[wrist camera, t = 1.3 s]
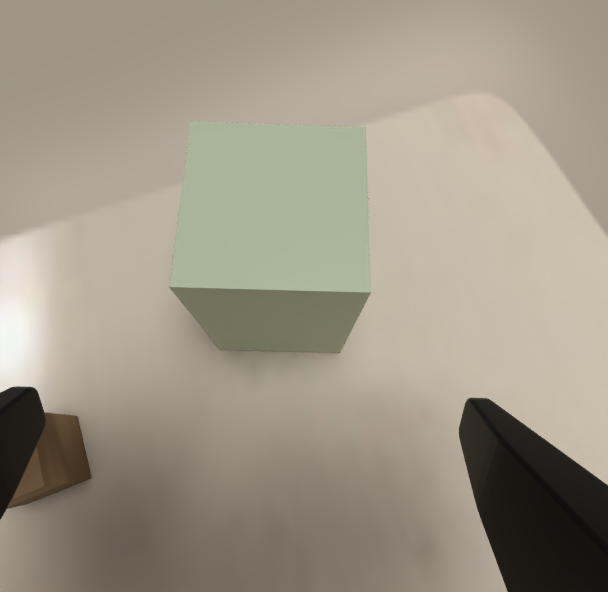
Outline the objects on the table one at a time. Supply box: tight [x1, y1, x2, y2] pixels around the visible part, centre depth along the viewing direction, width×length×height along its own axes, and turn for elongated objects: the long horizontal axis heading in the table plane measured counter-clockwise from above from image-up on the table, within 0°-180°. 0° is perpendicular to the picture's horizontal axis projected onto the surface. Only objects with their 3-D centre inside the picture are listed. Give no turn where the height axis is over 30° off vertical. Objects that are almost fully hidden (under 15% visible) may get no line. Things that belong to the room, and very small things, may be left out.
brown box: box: [7, 413, 91, 508], centre depth 19 cm, size 3×3×4 cm
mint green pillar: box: [169, 122, 371, 353], centre depth 19 cm, size 6×6×10 cm
